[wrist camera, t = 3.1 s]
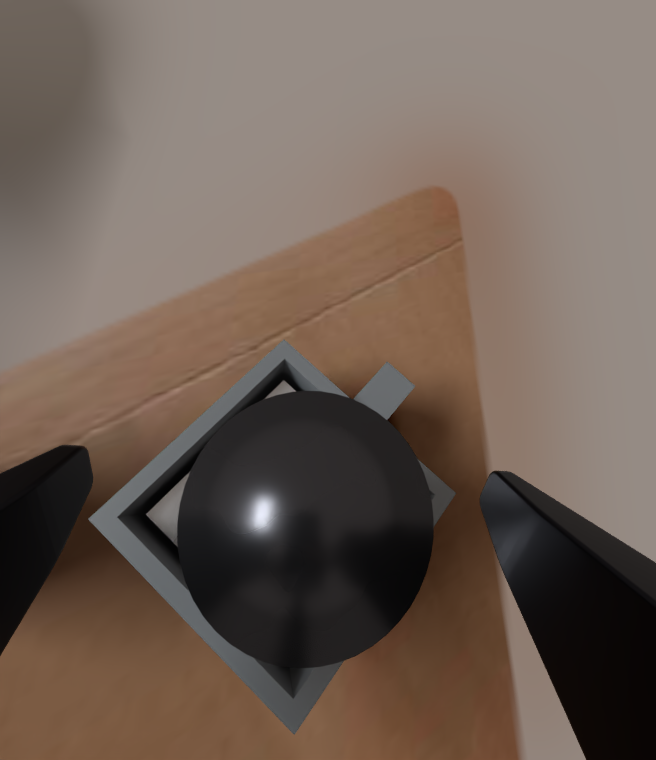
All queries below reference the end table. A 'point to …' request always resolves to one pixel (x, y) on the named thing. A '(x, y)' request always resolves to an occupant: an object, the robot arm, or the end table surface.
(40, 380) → the end table surface
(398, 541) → the plunger
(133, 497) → the grey open box
